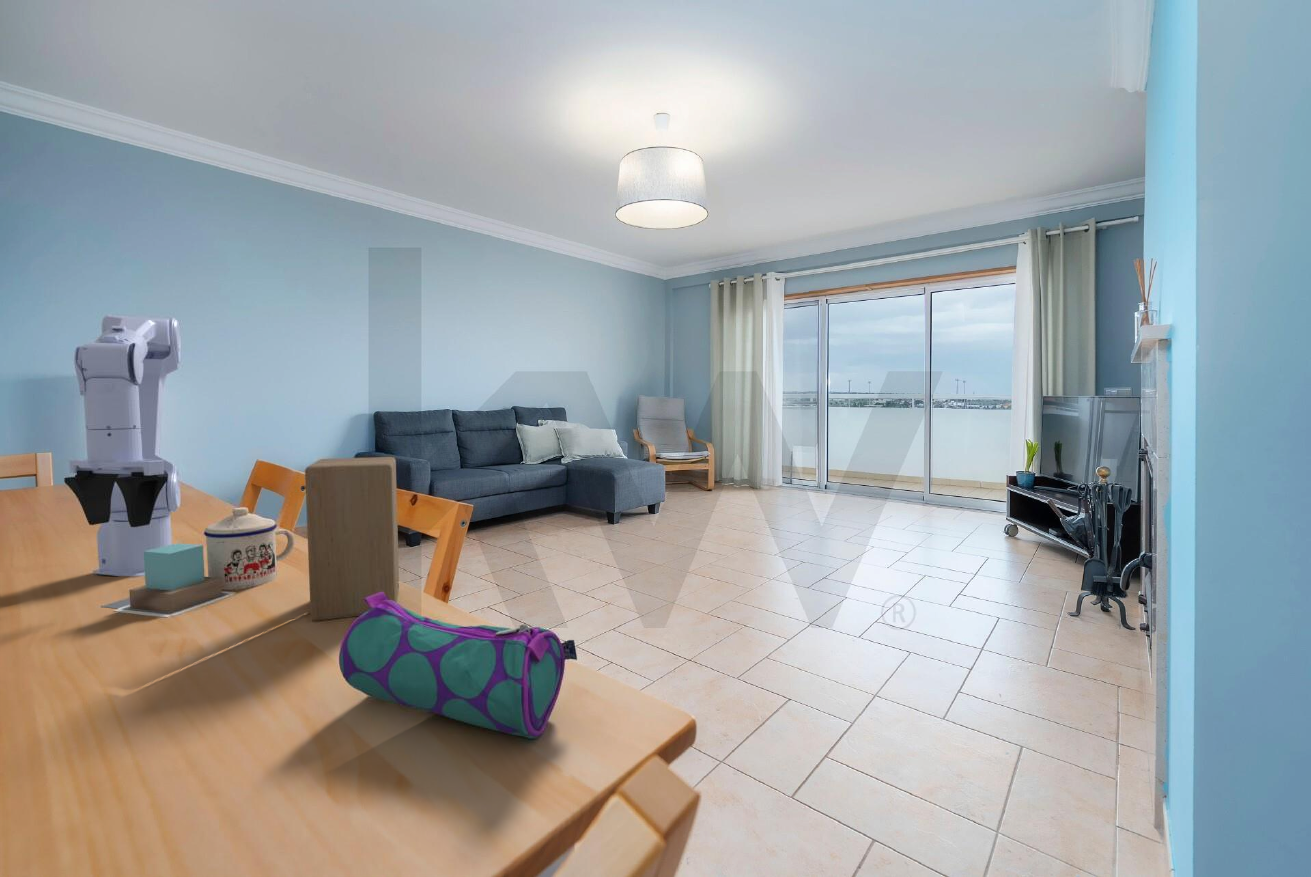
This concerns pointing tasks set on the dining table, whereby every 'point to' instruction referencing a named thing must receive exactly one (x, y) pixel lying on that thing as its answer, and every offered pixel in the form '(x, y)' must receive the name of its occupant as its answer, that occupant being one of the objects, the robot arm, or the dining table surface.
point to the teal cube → (174, 566)
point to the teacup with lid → (244, 550)
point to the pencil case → (456, 667)
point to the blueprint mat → (125, 607)
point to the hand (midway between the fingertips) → (119, 524)
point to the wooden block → (351, 534)
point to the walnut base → (175, 596)
